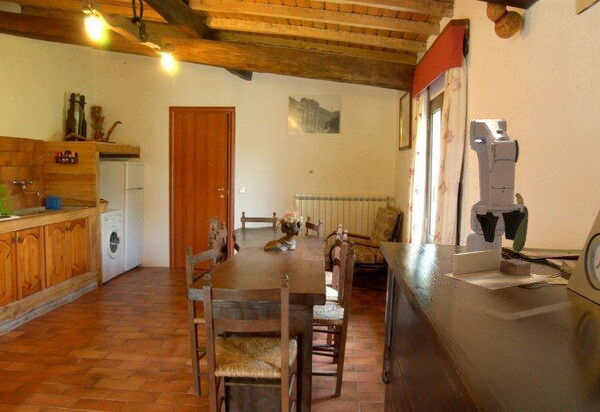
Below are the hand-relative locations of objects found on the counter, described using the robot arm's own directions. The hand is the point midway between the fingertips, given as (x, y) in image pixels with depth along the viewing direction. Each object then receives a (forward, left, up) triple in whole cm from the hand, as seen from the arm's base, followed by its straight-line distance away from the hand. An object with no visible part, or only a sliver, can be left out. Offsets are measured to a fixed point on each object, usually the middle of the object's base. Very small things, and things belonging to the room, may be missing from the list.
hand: (499, 240), depth 108 cm
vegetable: (-17, +30, -10) cm, 36 cm away
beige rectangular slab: (-4, -3, -8) cm, 10 cm away
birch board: (+2, -4, -9) cm, 10 cm away
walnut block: (+2, +4, -8) cm, 9 cm away
